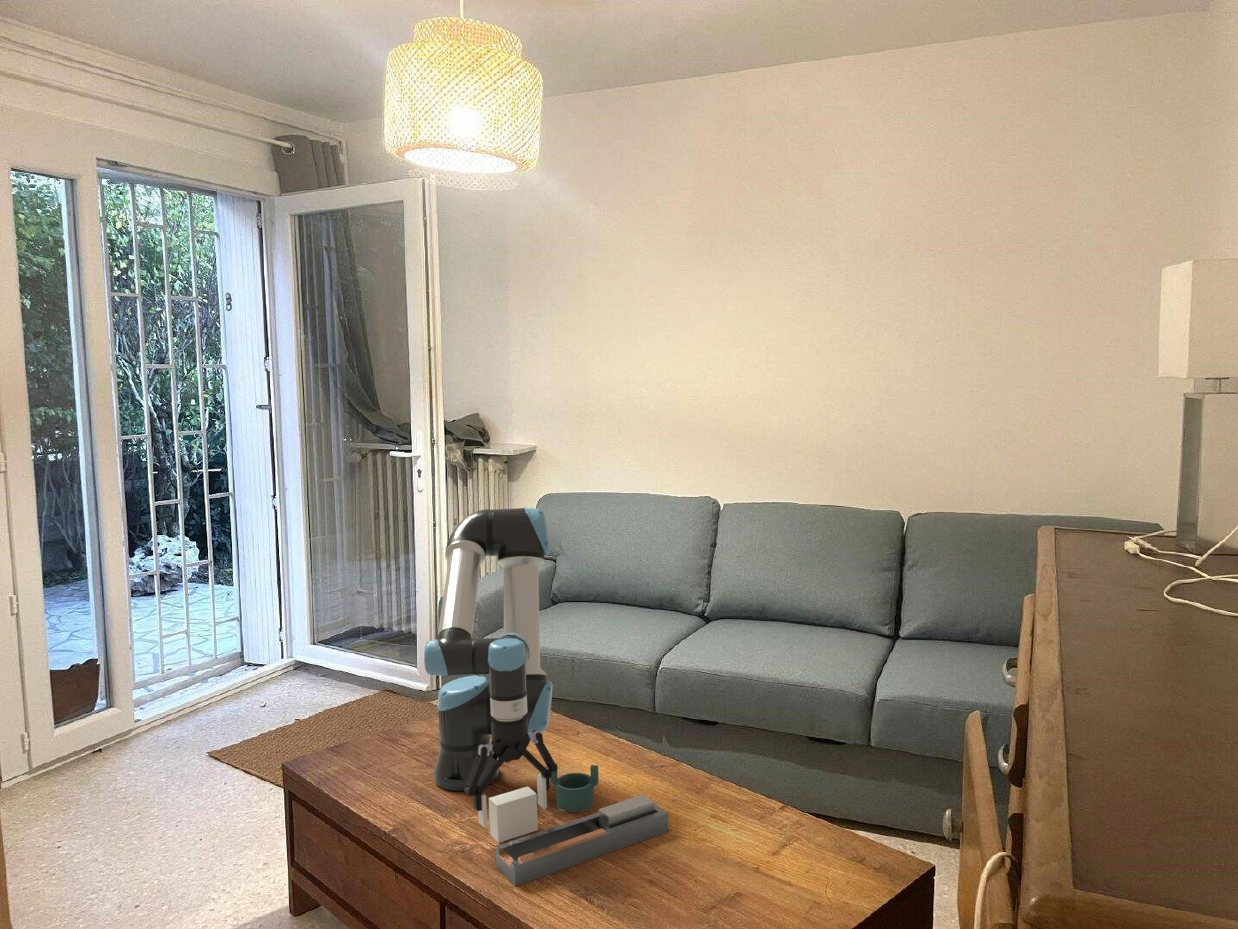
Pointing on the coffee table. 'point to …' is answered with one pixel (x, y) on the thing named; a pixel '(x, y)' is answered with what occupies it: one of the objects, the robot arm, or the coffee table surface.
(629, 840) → the rack
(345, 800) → the coffee table surface
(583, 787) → the teal cylindrical holder
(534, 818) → the block
